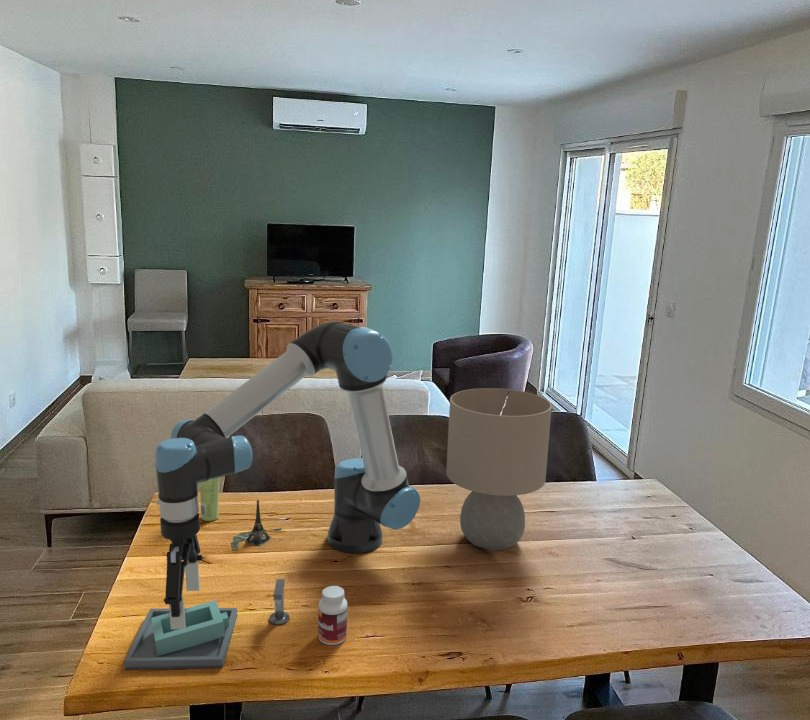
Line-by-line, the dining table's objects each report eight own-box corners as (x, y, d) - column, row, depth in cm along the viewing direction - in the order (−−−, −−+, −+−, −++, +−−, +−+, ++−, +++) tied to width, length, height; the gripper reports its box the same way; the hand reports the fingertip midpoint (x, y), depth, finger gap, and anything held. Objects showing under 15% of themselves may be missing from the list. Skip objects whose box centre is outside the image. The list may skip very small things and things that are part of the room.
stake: (290, 610, 159) (290, 579, 157) (288, 627, 153) (287, 594, 151) (271, 611, 158) (270, 579, 157) (267, 627, 152) (267, 594, 150)
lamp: (495, 576, 176) (505, 422, 167) (423, 537, 196) (429, 397, 187) (559, 545, 194) (572, 404, 185) (487, 512, 213) (496, 383, 204)
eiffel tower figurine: (282, 529, 199) (282, 485, 196) (289, 546, 190) (289, 500, 187) (229, 535, 194) (228, 491, 191) (232, 553, 185) (231, 506, 182)
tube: (219, 512, 207) (217, 450, 202) (222, 519, 202) (220, 456, 198) (199, 515, 204) (197, 453, 200) (202, 523, 200) (200, 458, 195)
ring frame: (224, 612, 154) (222, 598, 153) (232, 634, 146) (230, 619, 145) (153, 632, 148) (151, 617, 147) (157, 656, 140) (155, 641, 139)
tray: (237, 615, 156) (237, 607, 156) (222, 668, 139) (222, 659, 138) (150, 616, 155) (150, 608, 154) (124, 669, 137) (124, 660, 137)
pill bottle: (311, 637, 149) (312, 591, 147) (332, 625, 154) (333, 580, 151) (332, 650, 145) (332, 603, 143) (352, 637, 150) (353, 591, 148)
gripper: (175, 489, 152) (181, 576, 157) (142, 546, 128) (151, 646, 133) (210, 488, 153) (215, 575, 158) (184, 545, 129) (191, 645, 134)
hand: (186, 608), depth 145 cm, fingers open, 13 cm apart
